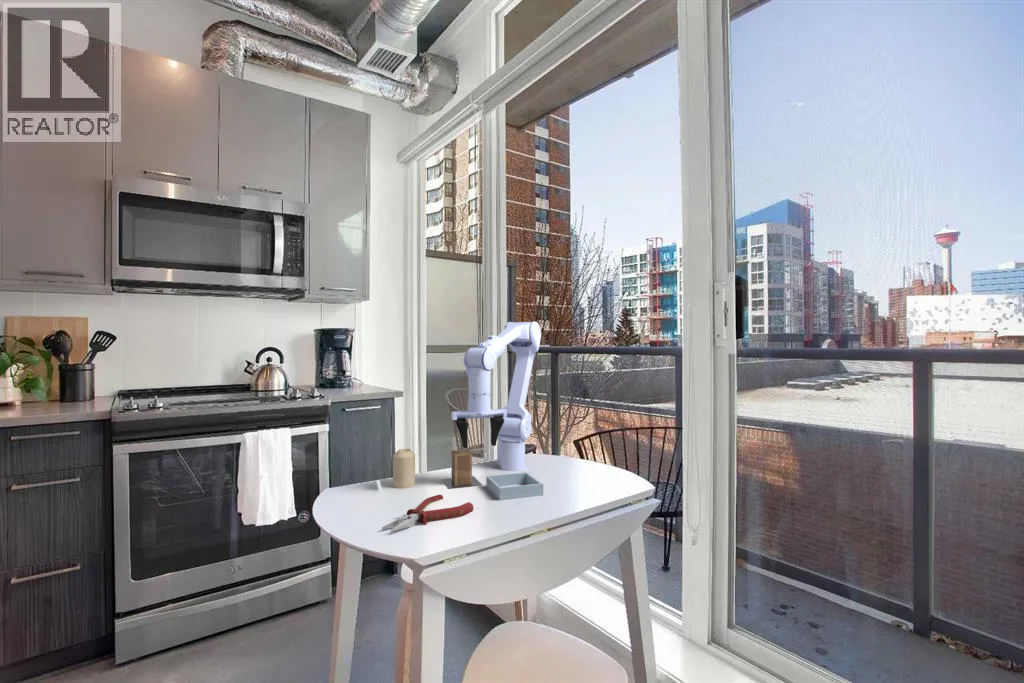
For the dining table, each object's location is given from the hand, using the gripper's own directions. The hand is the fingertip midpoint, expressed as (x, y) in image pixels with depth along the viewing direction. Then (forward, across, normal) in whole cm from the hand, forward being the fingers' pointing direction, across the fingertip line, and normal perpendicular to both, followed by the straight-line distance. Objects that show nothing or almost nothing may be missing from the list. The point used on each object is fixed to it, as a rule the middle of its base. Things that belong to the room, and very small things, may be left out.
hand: (479, 446), depth 129 cm
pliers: (+11, -17, -16) cm, 26 cm away
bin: (+10, +6, -9) cm, 15 cm away
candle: (+11, -18, +5) cm, 22 cm away
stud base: (+10, -4, +3) cm, 11 cm away
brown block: (+10, -4, +3) cm, 11 cm away
